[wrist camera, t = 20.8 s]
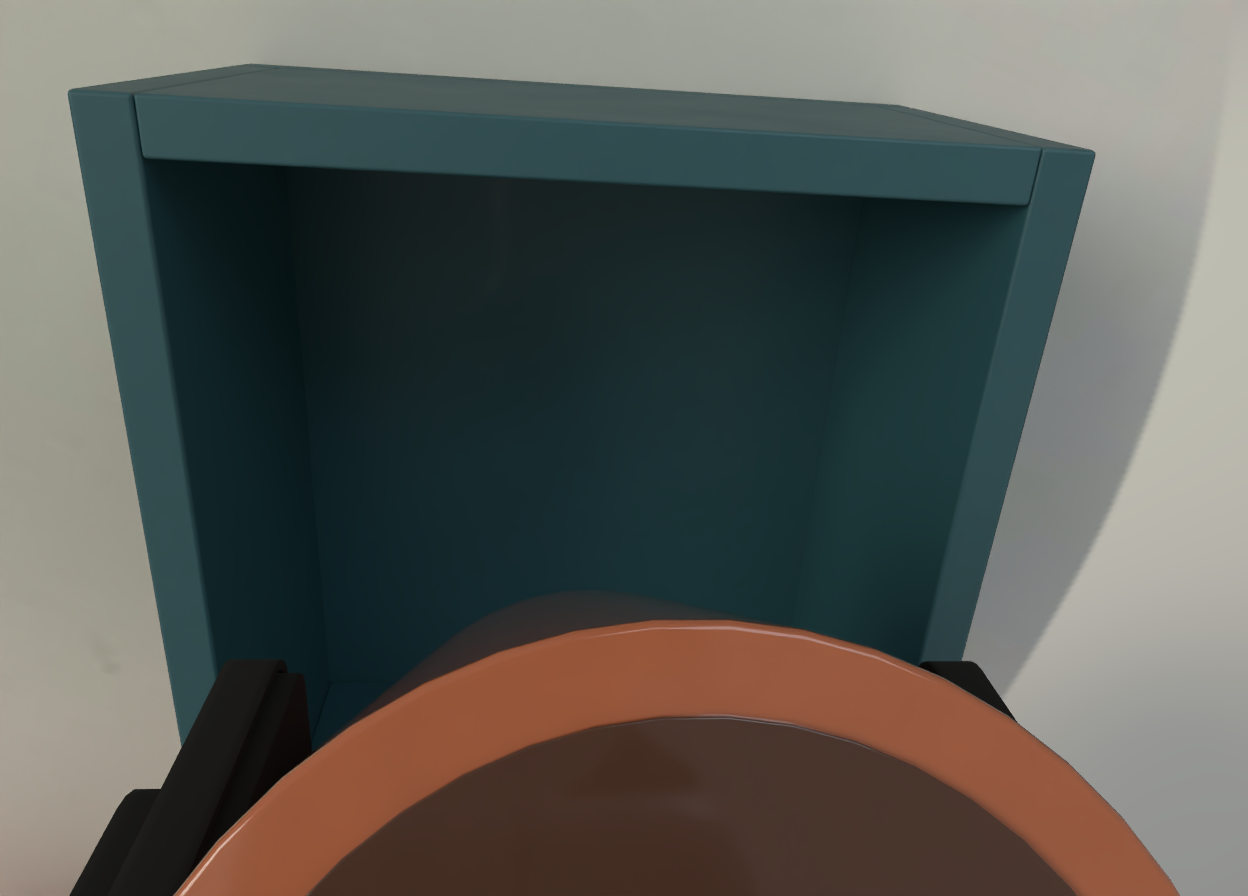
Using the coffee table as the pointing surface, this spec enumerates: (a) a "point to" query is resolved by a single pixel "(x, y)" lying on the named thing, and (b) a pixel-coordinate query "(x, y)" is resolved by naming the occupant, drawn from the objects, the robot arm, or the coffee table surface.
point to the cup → (675, 774)
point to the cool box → (558, 356)
